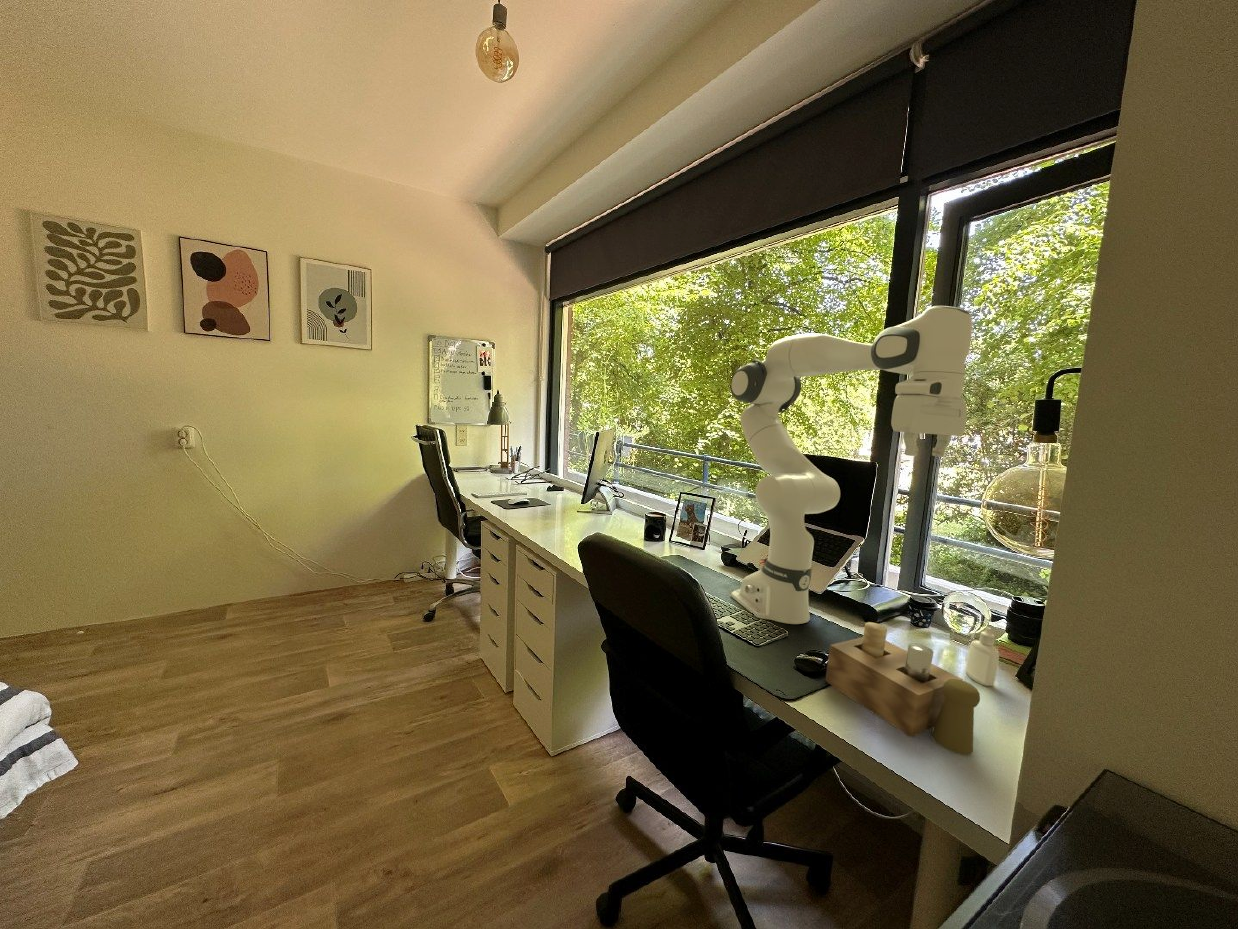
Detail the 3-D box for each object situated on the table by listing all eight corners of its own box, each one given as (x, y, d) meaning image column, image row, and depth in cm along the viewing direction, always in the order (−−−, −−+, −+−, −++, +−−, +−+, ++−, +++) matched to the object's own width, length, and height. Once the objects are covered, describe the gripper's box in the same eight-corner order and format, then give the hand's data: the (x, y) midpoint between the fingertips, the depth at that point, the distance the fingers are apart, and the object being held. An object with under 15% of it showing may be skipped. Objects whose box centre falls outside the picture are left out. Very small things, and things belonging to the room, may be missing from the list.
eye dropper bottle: (970, 683, 104) (980, 630, 102) (963, 670, 109) (973, 620, 107) (995, 689, 102) (1005, 636, 101) (987, 676, 107) (997, 625, 106)
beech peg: (855, 659, 99) (860, 623, 98) (867, 656, 101) (873, 621, 100) (873, 669, 96) (879, 633, 95) (885, 666, 98) (891, 629, 97)
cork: (974, 743, 84) (986, 685, 83) (970, 760, 79) (982, 699, 78) (934, 725, 88) (944, 669, 86) (928, 741, 83) (939, 682, 82)
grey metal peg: (897, 683, 91) (903, 645, 90) (909, 679, 93) (916, 641, 92) (918, 695, 88) (925, 655, 87) (931, 691, 90) (938, 652, 89)
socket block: (825, 681, 100) (830, 644, 99) (868, 668, 106) (873, 634, 105) (911, 737, 84) (918, 695, 83) (955, 718, 91) (962, 679, 90)
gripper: (948, 392, 105) (937, 455, 107) (890, 383, 95) (879, 452, 97) (980, 393, 99) (968, 459, 101) (922, 384, 90) (910, 457, 92)
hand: (924, 456), depth 99 cm, fingers open, 8 cm apart
